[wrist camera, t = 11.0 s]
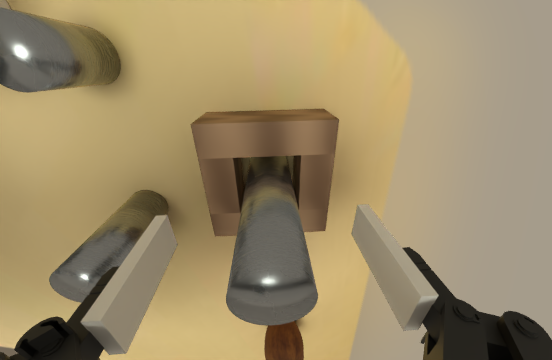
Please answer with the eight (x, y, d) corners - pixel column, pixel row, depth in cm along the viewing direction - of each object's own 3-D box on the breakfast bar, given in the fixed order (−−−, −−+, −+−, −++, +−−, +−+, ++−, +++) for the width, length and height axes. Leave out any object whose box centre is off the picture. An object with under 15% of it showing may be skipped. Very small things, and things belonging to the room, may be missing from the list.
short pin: (79, 84, 19) (-8, 93, 13) (54, 26, 17) (-64, 4, 11) (127, 83, 19) (64, 91, 13) (108, 26, 17) (22, 3, 11)
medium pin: (137, 219, 27) (67, 304, 17) (125, 191, 25) (36, 269, 15) (172, 218, 27) (121, 301, 17) (162, 189, 25) (98, 266, 15)
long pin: (251, 181, 25) (232, 327, 11) (247, 146, 23) (219, 272, 9) (287, 180, 25) (314, 322, 11) (287, 145, 23) (321, 267, 9)
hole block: (223, 208, 27) (214, 236, 22) (206, 112, 21) (190, 124, 17) (315, 204, 27) (325, 230, 23) (323, 108, 21) (338, 119, 17)
